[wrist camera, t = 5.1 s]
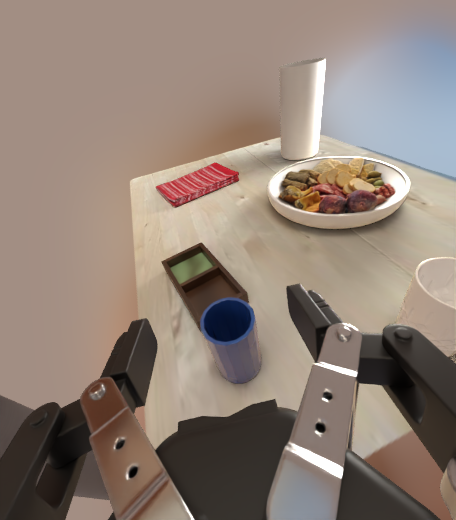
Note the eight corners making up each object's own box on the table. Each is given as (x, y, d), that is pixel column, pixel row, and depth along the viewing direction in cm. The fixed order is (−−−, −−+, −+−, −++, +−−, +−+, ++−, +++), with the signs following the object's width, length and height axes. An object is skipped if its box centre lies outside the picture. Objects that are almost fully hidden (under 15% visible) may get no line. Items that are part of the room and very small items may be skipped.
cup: (232, 393, 29) (216, 356, 23) (210, 355, 34) (191, 314, 27) (270, 366, 31) (266, 324, 24) (245, 332, 35) (235, 289, 29)
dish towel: (242, 180, 75) (240, 171, 73) (174, 208, 68) (172, 200, 66) (216, 167, 87) (214, 160, 85) (156, 191, 80) (153, 183, 78)
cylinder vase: (321, 147, 84) (329, 56, 68) (313, 161, 77) (320, 62, 60) (286, 147, 90) (286, 63, 73) (276, 160, 82) (273, 70, 65)
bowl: (255, 188, 69) (252, 161, 64) (354, 165, 70) (359, 136, 64) (293, 250, 47) (294, 217, 41) (438, 216, 47) (457, 178, 42)
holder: (200, 331, 37) (196, 322, 35) (165, 270, 49) (161, 261, 47) (249, 302, 39) (247, 292, 37) (204, 251, 51) (201, 242, 50)
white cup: (483, 357, 28) (544, 306, 21) (415, 368, 28) (454, 321, 21) (433, 304, 34) (468, 251, 27) (377, 314, 34) (399, 264, 27)
